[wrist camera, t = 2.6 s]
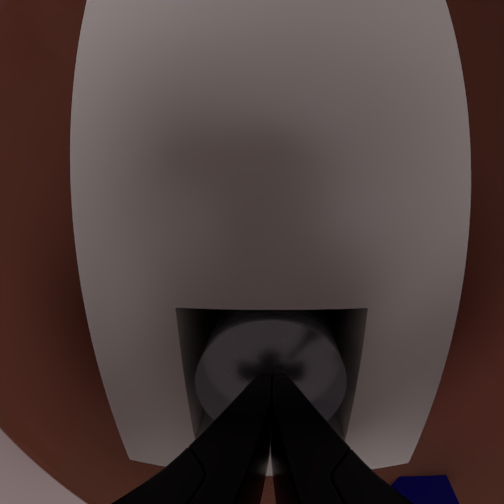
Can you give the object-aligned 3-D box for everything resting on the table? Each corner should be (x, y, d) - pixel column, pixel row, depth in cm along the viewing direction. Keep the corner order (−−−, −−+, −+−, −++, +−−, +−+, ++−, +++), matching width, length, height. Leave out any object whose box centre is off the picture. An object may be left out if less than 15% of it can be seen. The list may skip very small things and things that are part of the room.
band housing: (365, -60, 8) (389, -121, 4) (377, 387, 13) (408, 462, 8) (161, -55, 9) (126, -113, 4) (166, 386, 14) (129, 459, 9)
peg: (326, 269, 12) (355, 321, 7) (320, 361, 12) (336, 438, 8) (219, 269, 12) (187, 320, 7) (223, 361, 13) (202, 437, 8)
